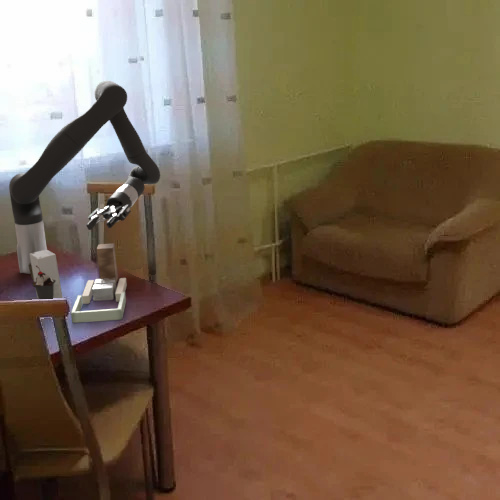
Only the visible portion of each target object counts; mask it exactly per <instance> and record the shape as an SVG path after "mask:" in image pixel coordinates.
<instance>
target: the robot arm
mask: <svg viewBox="0 0 500 500" xmlns="http://www.w3.org/2000/svg"><path fill="white" fill-rule="evenodd" d="M94 99H95V102H94V103H93V104H92V105H91V107H90V108H89V109H88V110H86V111H85V112H84V113H83V114H81V115H79V116H77V117H76V118H75V119H73V120H71V121H69V122H68V123H67V124H65V125H64V126H63V127H62V128H61V129H60V130H59V131H58V132H57V133H56V134H55V135H54V137H52V139H51V140H50V141H49V143H48V144H47V145H46V147H45V149H44V151H43V152H42V153H41V155H40V156H39V158H38V159H37V161H36V162H35V164H33V165H32V167H30V168H29V169H28V170H27V171H26V172H25V173H24V172H22V173H21V172H20V173H17V174H15V175H14V176H12V178H11V179H10V181H9V186H8V190H9V196H10V202H11V210H12V216H13V220H14V227H15V234H16V240H17V245H16V253H17V261H18V267H19V268H18V269H19V273H20V274H28V275H31V274H30V270H29V266H28V265H29V263H31V260H30V253H34V252H38V251H42V250H48V248H47V242H46V233H45V225H44V219H43V217H44V216H43V211H42V207H41V201H40V195H41V194H42V193H43V191H44V190H45V189H46V187H47V186H48V185H49V183H50V182H51V181H52V180H53V178H55V176H56V175H57V174H58V173H60V172H61V171H62V170H63V169H64V168H65V167H66V166H67V165H68V164H69V163H70V162H71V161H72V160H74V158H75V157H76V156H77V155H78V154H79V153H80V152H81V151H82V149H84V147H85V146H86V145H87V144H88V143H89V142H90V140H92V139H93V138H94V136H95V135H96V134H97V133H99V131H100V130H101V128H102V127H104V126H105V125H106V124H107V123H108V122H109V123H110V124H111V126H112V128H113V130H114V132H115V135H116V136H117V139H118V142H119V143H120V146H121V147H122V150H123V152H124V154H125V157H126V159H127V161H128V163H130V164H133V165H136V166H134V167H132V168H131V170H130V172H129V174H128V176H127V179H126V180H125V182H123V184H122V185H121V186H120V187H118V188H117V189H116V190H115V191H114V192H113V194H111V196H110V197H108V198H107V200H106V205H105V207H104V208H102V209H101V208H100V207H97V208H95V210H94V211H92V213H91V214H90V215H88V217H87V219H88V220H89V221H88V222H87V223H86V228H87V229H88V231H91V230H92V229H93V228H94V227H95V226H96V225H97V224H99V223H101V222H102V223H103V222H105V221H106V226H107V228H108V229H112V227H114V225H115V224H116V223H118V222H120V221H122V222H123V221H125V219H126V218H127V217H128V216H129V214H130V213H131V212H132V211H131V208H133V206H134V204H136V202H137V200H138V199H139V198H140V197H141V195H143V193H144V192H145V189H146V188H145V186H146V185H144V184H148V185H155V184H157V183H158V182H159V181H160V179H161V171H160V168H159V166H158V164H157V163H156V162H155V161H154V160H153V158H152V157H151V156H150V155H149V153H147V150H146V148H145V145H144V143H143V140H141V139H142V138H140V135H139V133H138V132H137V130H136V129H135V127H134V125H133V124H132V122H131V121H130V118H129V116H128V115H127V112H126V110H125V108H124V107H125V105H126V104H127V102H128V93H127V91H126V90H125V89H124V88H123V86H121V85H119V84H118V83H116V82H114V81H111V80H103V81H101V82H99V83H98V84H96V86H95V89H94ZM102 217H103V218H102Z"/></svg>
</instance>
